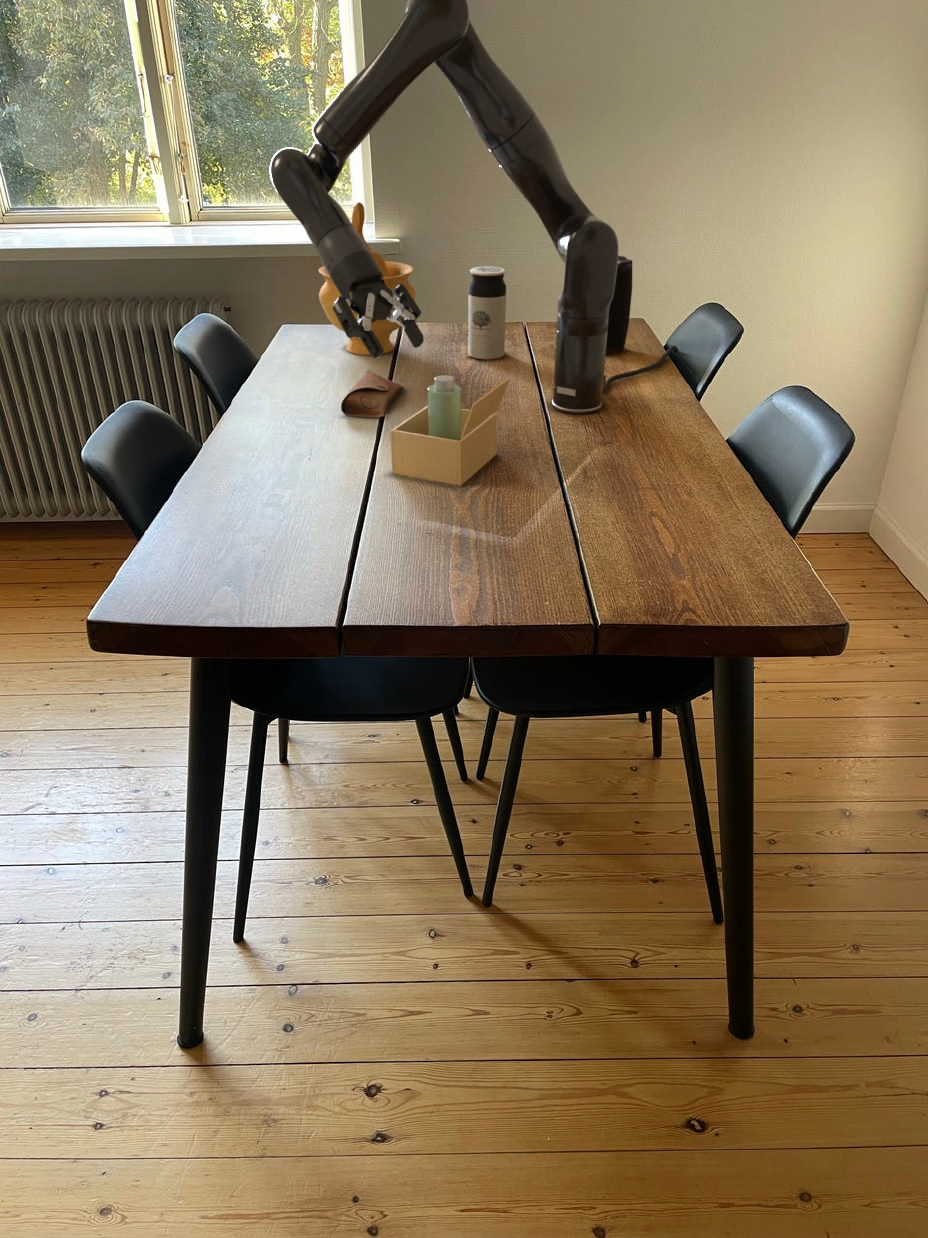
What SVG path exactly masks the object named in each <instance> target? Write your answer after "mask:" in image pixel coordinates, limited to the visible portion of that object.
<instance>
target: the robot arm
mask: <svg viewBox="0 0 928 1238" xmlns="http://www.w3.org/2000/svg"><path fill="white" fill-rule="evenodd" d="M433 64H435V66H436V67H437V68H438V69H439V71H440V72H441V73H442V74H443V75H444V77H445V78H446V80H447V81H448V82H449V84H450V85H451V86H452V88H453V89H454V90H453V91H455V93H456V95H457V96H458V98H459V100H460V102H461V104H462V105H463V108H464V110H465V112H466V115H468V117H469V120H470V122H471V123H472V125H473V126H474V128H475V130H476V131H477V133H478V135H479V137H480V139H481V140H482V142H483V144H484V145H485V147H486V148H487V149H488V151H489V153H490V154H491V156H492V158H493V159H494V160H495V162H496V163H497V165H498V166H499V167H500V169H501V170H502V172H503V173H504V174H505V176H506V177H507V178H508V180H509V181H510V182H511V184H512V185H513V186H514V187H515V189H516V190H517V191H518V192H519V193H520V195H521V196H522V197H523V198H524V199H525V200H526V202H528V204H529V205H530V206H531V208H532V209H533V210H534V212H535V213H536V215H537V216H538V217H539V219H540V221H541V224H542V225H543V228H544V229H545V230H546V232H547V234H548V236H549V238H550V240H551V242H552V244H553V246H554V248H555V250H556V251H557V254H558V256H559V258H560V260H561V261H562V262H563V263H564V264H565V267H564V276H563V277H564V279H563V288H562V292H561V294H560V295H559V297H558V300H557V310H556V311H557V313H556V315H557V316H556V331H555V332H556V333H555V335H556V336H555V348H554V349H555V351H554V352H555V353H554V369H553V385H552V400H551V407H552V408H553V409H555V410H557V411H560V412H563V413H568V414H577V415H579V414H590V413H595V412H598V411H599V410H601V409H602V406H603V402H602V398H603V393H606V392H607V391H608V389H609V386H610V385H611V384H612V383H613V382H615V381H617V380H621V379H626V378H629V377H634V376H637V375H640V374H643V373H646V372H649V371H652V370H654V369H656V368H658V367H660V366H661V365H663V363H664V362H665V361H666V359H667V358H668V357H669V356H670V355H672V353H673V352H674V353H679V348H678V347H677V346H676V345H672V346H670V347H669V348H668V349H667V350H666V352H664V353H663V354H662V356H661V357H660V358H659V360H658V361H656V362H654V363H652V364H650V365H647V366H643V367H641V368H638V369H634V370H630V371H627V372H621V373H618V374H614V375H612V376H610V377H609V378H608V379H607V375H606V374H605V366H606V365H605V364H606V355H605V354H606V342H607V329H608V317H609V307H610V303H611V301H612V299H613V295H614V290H615V281H616V273H617V264H618V256H619V251H620V250H619V249H620V248H619V239H618V236H617V233H616V231H615V229H614V228H613V227H612V226H611V225H610V224H608V223H607V222H605V221H603V220H602V219H600V218H599V217H597V215H595V214H594V213H593V212H592V211H591V210H590V208H589V207H588V206H587V205H586V203H585V202H584V201H583V200H582V199H581V197H580V196H579V194H578V193H577V192H576V189H574V187H573V186H572V184H571V182H570V180H569V178H568V176H567V174H566V171H565V169H564V166H563V163H562V160H561V158H560V156H559V153H558V151H557V148H556V146H555V143H554V141H553V139H552V137H551V136H550V134H549V132H548V130H547V128H546V127H545V125H544V123H543V121H541V119H540V117H539V116H538V114H537V112H536V111H535V109H534V108H533V106H532V105H531V103H530V102H529V100H528V99H527V98H526V97H525V95H524V94H523V93H522V91H520V89H519V88H518V87H517V86H516V85H515V83H514V82H513V81H512V80H511V79H510V77H509V76H508V75H507V74H506V73H505V72H504V71H503V70H502V69H501V68H500V66H499V65H498V64H497V62H496V61H494V59H493V58H492V56H491V55H490V53H489V52H488V51H487V49H486V47H485V46H484V44H483V42H482V40H481V38H480V37H479V35H478V33H477V30H476V29H475V27H474V25H473V23H472V21H471V19H470V7H469V2H468V0H407V2H406V7H405V14H404V15H403V17H402V19H401V20H400V22H399V23H398V25H397V27H396V29H395V30H394V32H393V33H392V35H391V36H390V37H389V38H388V39H387V42H386V43H385V44H384V45H383V47H382V48H381V49H380V51H378V53H377V54H376V55H375V56H374V57H373V58H372V60H371V61H369V63H368V64H367V65H365V67H363V69H361V71H359V72H358V74H356V75H355V76H354V77H353V78H352V80H350V81H349V83H348V84H346V85H345V86H344V88H343V89H342V90H341V91H340V92H339V93H338V94H337V95H336V96H335V98H334V99H333V100H332V101H331V102H330V104H329V105H328V106H327V107H326V108H325V110H324V111H322V113H321V114H320V116H319V117H318V118H317V119H316V121H315V122H314V124H313V126H312V128H311V129H312V131H311V132H312V136H313V138H314V140H315V141H314V142H313V145H312V147H311V148H310V150H309V151H308V153H307V154H306V153H305V152H304V151H302V150H300V149H299V148H294V147H285V148H282V149H280V150H278V151H277V152H276V153H275V154H274V155H273V157H272V159H271V162H270V165H269V175H270V180H271V182H272V185H273V187H274V188H275V191H276V192H277V194H278V195H279V197H280V198H281V200H282V202H283V203H284V204H285V205H286V206H287V208H288V209H289V210H290V212H291V213H292V214H293V215H294V217H295V218H296V219H297V220H298V222H299V223H300V225H302V227H303V228H304V230H305V232H306V235H307V237H308V238H309V240H310V242H311V244H312V245H313V247H314V248H315V250H316V252H317V254H318V256H319V258H320V261H321V263H322V265H323V267H325V269H326V270H327V272H328V274H329V275H330V277H331V279H332V281H333V282H334V284H335V286H336V287H337V289H338V291H339V293H340V294H341V296H340V297H339V298H338V299H337V301H336V303H335V304H334V306H333V310H334V312H335V314H336V316H337V318H338V320H339V322H340V324H341V326H342V328H343V329H344V331H345V332H344V331H343V332H344V333H345V335H346V337H347V338H348V339H350V338H353V337H358V338H359V339H361V340H362V341H363V343H364V345H365V346H366V348H367V350H368V351H369V353H370V354H371V355H370V356H373V358H374V359H379V358H380V357H381V356H382V355H383V354H384V353H383V352H384V349H383V347H382V345H381V344H380V342H379V340H378V339H377V337H376V335H375V334H374V332H373V331H370V328H371V323H372V322H375V321H377V320H385V319H387V320H389V321H390V322H393V323H394V322H396V323H398V324H399V325H401V327H402V328H403V331H404V333H405V335H406V336H407V338H408V340H409V341H410V343H411V344H412V347H413V348H414V349H416V348H420V347H421V345H422V344H423V343H424V341H425V339H424V338H425V337H424V334H423V333H422V331H421V329H420V327H419V325H418V324H417V322H416V321H417V319H418V318H419V317H420V316H421V315H422V311H421V308H420V307H419V306H418V305H417V303H416V300H415V301H414V300H413V298H412V297H411V295H410V294H409V292H408V291H407V289H406V288H405V286H404V285H403V284H399V286H398V287H397V288H395V289H392V290H391V289H389V288H388V287H387V286H386V285H385V283H384V276H383V273H382V271H381V270H380V268H379V266H378V264H377V263H376V261H375V259H374V258H373V256H372V254H371V253H370V251H369V249H368V247H367V246H366V244H365V242H364V241H363V239H362V238H361V236H360V235H359V234H358V233H357V231H356V230H355V228H354V227H353V225H352V223H351V222H352V221H351V220H350V218H349V216H348V214H347V213H346V212H345V210H344V208H343V207H342V206H341V205H340V203H339V202H338V201H337V200H335V198H333V197H332V195H330V192H331V190H332V189H333V187H334V185H335V183H336V182H337V180H338V178H339V176H340V174H341V173H342V170H343V169H344V167H345V164H346V163H347V160H348V158H349V157H350V156H351V155H352V154H353V153H354V152H355V150H356V149H357V148H358V147H359V146H360V145H361V144H362V142H364V140H365V139H366V137H368V136H369V134H370V133H371V132H372V131H373V129H374V128H375V127H376V126H377V125H378V123H380V121H381V120H382V119H383V117H384V116H385V115H386V114H387V112H388V111H389V110H390V108H391V107H392V106H393V105H394V104H395V102H396V101H397V100H398V99H399V97H400V96H401V95H402V94H403V93H404V92H405V91H406V90H407V89H408V88H409V86H411V84H412V83H414V81H415V80H416V79H418V78H419V76H420V75H421V74H422V73H424V71H426V70H427V69H428V68H429V67H430V66H431V65H433ZM393 307H394V308H395V309H396V311H395V312H394V313H391V312H392V308H393ZM409 307H410V308H411V311H410V309H409ZM351 310H353V311H354V312H355V313H357V314H358V318H357V320H356V318H355V317H354V315H353V313H352V311H351ZM399 315H402V316H403V317H405V318H406V319H403V318H402V317H400V316H399Z"/></svg>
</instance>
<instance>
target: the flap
mask: <svg viewBox="0 0 928 1238" xmlns="http://www.w3.org/2000/svg"><path fill="white" fill-rule="evenodd" d="M510 380H511V378H510V377H507V378H506V379H505V380H503V381H501V383H499V384H498V385H497V386H495V387H494V388H492V389H491V390H490V391H488V392H487V393H486V394H485V395H483V396H482V397H480V398H479V399H477V400H476V401H475V402H473V403H472V404H471V407H470V409H469V410H470V413H469V415H468V418H467V421H466V424H465V426H464V429H463V432H462V434H461V437H460V438H463V437H465V436H466V435H467V434H468V433H470V432H471V431H472V430H473V429H475V428H476V427H477V426H479V425H480V424H481V423H482V422H484V421H485V420H486V419H487V418H489V417H490V416H491V415H493V414H494V413H495V414H496V413H497V412H498V410H499V409H500V406H501V403H502V401H503V398H504V395H505V393H506V390H507V388H508V385H509V383H510Z"/></svg>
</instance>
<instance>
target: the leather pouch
mask: <svg viewBox="0 0 928 1238" xmlns="http://www.w3.org/2000/svg"><path fill="white" fill-rule="evenodd" d="M404 388H405V386H404V385H402V384H400V383H398V382H395V381H393V380H391V379H388V378H386V377H384V376H381V375H380V374H377V373H376V372H374V371H373V370H372V369H367V371H365V373H364V374H363V375H362V376H361V378H359V379H358V380H357V381H356V383H355V384H354V385H353V387H351V389H350V390H349V391H348V392H347V394H346V395H345V396H344V398H343V400H342V401H341V404H340V408H341V412H342V413H343V414H344V416H346V417H352V418H360V419H373V418H374V419H377V418H378V419H379V418H383V417H384V416H386V414H387V411H388V409H389V408H390V406H391V404H392V403H393V401H395V399H396V398H397V397H398V396H399V394H401V392H402V391H403V389H404Z"/></svg>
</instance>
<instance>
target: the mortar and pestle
mask: <svg viewBox="0 0 928 1238" xmlns="http://www.w3.org/2000/svg"><path fill="white" fill-rule="evenodd" d="M365 210H366V209H365V207H364V204H363V203H362V202H360V201H359V202H356V204H355V205H354V206H353V208H352V214H351V221H350V222H351V223H352V225H353V227H354V228H355V230H356V231H357V233H358V234H359V235H360V236H361V238H362V239H363V241H364V242H365V244H366V246H367V247H368V249H369V251H370V253H371V254H372V256H373V258H374V259H375V261H376V263H377V264H378V266H379V268H380V270H381V271H382V273H383V276H384V283H385V285H386V286H387V287H388V288H389V289H391V290H392V289H395V288H397V287H398V286H399V284H403V285H404V286H405V288H406V289H407V291H408V292H409V294H410V295H411V297H412V298H413V300H414V301H415V302H416V294H417V293H416V290H415V288H414V286H413V285H412V284H411V282H410V281H409V280H408V279H409V277H410V275H411V274H412V273H413V272H414V270H415V269H414V267H413V266H411V265H409V264H406V263H403V262H396V261H388V260H384V258H383V257H382V256H381V255H380V254H379V253H378V252H375V251H373V250H372V248H371V247H370V246H369V243H367V241H366V239H365V236H364V233H363V229H364V224H365V218H366V215H365ZM318 272H319V274H320V275H321V276H322V277H323V278H324V279H325V282H324V284H323V285H322V286H321V288H320V290H319V293H318V297H319V302H320V304H321V307H322V309H323V311H324V313H325V315H326V317H327V319H328V320H329V322H330V323H331V324H332V325H333V326H334V327H335V328H337V329H338V330H339V331H342V332H344V333H345V331H344V329H343V328H342V326H341V324H340V322H339V320H338V318H337V316H336V314H335V312H334V310H333V306H334V304H335V303H336V301H337V299H338V298H339V297H340V296H341V294H340V293H339V291H338V289H337V287H336V286H335V284H334V282H333V281H332V279H331V277H330V275H329V274H328V272H327V270H326V269H325V267H324V266H322V267H320V268H318ZM409 309H410V311H411V312H412V310H411V308H410V307H409ZM351 311H352V313H353V315H354V317H355V318H356V320H357V318H358V314H357V313H355V312H354V311H353V310H351ZM395 311H396V309H395V308H394V307H393V308H392V312H391V313H394V312H395ZM399 316H400V317H402V318H403V319H406V318H405V317H403V316H402V315H399ZM401 327H402V326H401V325H399V324H398V323H396V322H394V323H393V322H390V321H389V320H387V319H385V320H377V321H375V322H372V323H371V328H370V331H373V332H374V334H375V335H376V337H377V339H378V340H379V342H380V344H381V345H382V347H383V349H384V352H383V353H382V354H387V353H389V352H391V351H393V350H394V345H393V344H392V341H391V339H390V338H391V334H392V333H393V332H394V331H396V330H398V329H399V328H401ZM346 351H348V352H349V353H351V354H355V355H363V356H365V355H366V356H372V355H371V354H370V353H369V351H368V350H367V348H366V346H365V345H364V343H363V341H362V340H361V339H359V338H358V337H353V338H349V342H348V345H347V346H346Z"/></svg>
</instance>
